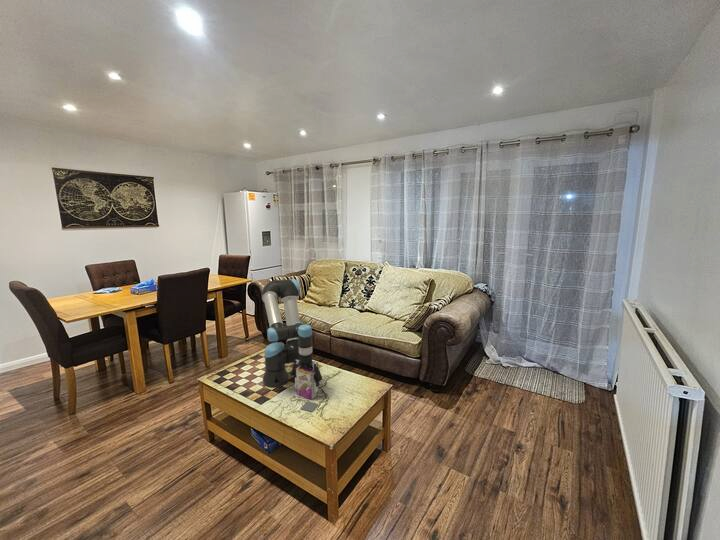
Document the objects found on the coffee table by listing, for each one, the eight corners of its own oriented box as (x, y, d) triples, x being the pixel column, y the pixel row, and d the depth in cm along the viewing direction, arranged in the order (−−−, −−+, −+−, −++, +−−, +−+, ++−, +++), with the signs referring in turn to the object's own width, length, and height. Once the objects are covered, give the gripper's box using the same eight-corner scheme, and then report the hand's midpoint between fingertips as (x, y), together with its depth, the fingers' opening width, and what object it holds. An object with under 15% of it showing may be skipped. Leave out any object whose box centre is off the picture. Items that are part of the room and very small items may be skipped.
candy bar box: (296, 394, 173) (295, 367, 170) (302, 390, 177) (301, 364, 174) (311, 400, 167) (310, 372, 165) (317, 396, 171) (316, 369, 169)
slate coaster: (300, 409, 159) (300, 408, 159) (307, 402, 166) (307, 401, 166) (312, 412, 157) (312, 411, 157) (318, 404, 163) (318, 403, 163)
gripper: (283, 352, 169) (284, 388, 172) (321, 359, 160) (322, 397, 164) (290, 347, 176) (292, 382, 179) (328, 353, 167) (328, 390, 171)
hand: (306, 389), depth 171 cm, fingers closed on candy bar box, 12 cm apart
